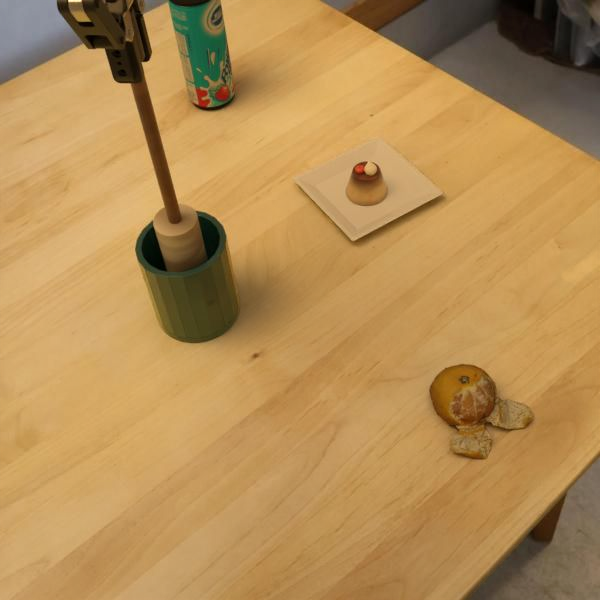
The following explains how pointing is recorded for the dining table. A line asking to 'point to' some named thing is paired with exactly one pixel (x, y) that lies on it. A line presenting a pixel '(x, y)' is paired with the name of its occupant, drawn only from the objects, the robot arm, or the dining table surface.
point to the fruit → (474, 408)
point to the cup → (191, 286)
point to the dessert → (367, 187)
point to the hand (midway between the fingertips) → (134, 69)
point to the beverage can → (203, 51)
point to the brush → (167, 188)
